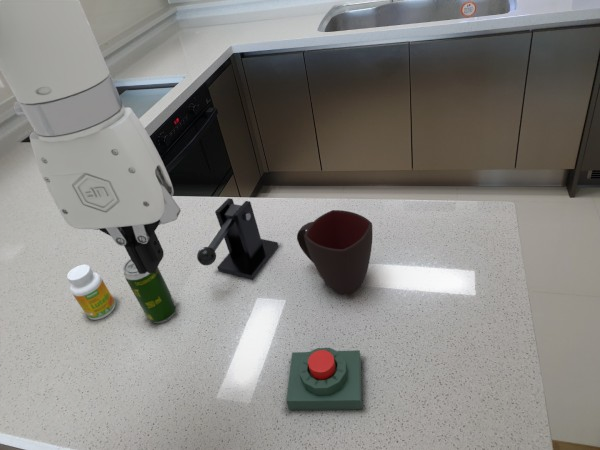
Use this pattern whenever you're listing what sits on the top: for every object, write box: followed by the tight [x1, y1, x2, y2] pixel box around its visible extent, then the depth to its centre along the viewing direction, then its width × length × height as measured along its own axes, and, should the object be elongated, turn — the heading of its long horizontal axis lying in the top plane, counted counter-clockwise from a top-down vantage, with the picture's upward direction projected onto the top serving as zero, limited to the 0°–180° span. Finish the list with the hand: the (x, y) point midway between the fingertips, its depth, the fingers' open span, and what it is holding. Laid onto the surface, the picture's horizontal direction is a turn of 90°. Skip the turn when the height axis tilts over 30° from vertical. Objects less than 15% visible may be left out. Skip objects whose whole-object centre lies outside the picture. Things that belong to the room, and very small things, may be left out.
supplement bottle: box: [66, 264, 116, 321], centre depth 84 cm, size 5×5×10 cm
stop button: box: [308, 350, 336, 380], centre depth 63 cm, size 4×4×2 cm
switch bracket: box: [214, 197, 279, 281], centre depth 87 cm, size 10×8×13 cm
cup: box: [296, 209, 374, 296], centre depth 79 cm, size 10×14×12 cm
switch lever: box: [196, 203, 242, 266], centre depth 82 cm, size 13×3×3 cm, turn 152°
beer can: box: [122, 258, 177, 324], centre depth 79 cm, size 5×5×12 cm
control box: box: [285, 347, 363, 411], centre depth 64 cm, size 10×8×4 cm
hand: (152, 264), depth 50 cm, fingers closed
